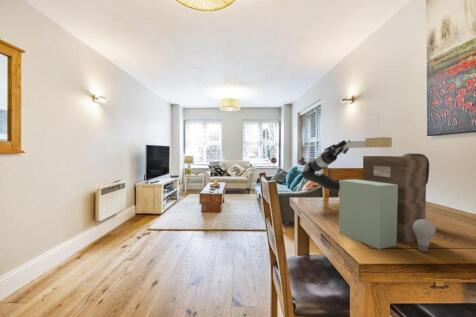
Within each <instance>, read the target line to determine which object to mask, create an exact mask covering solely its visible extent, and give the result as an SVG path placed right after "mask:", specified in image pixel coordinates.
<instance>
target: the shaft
mask: <svg viewBox="0 0 476 317" xmlns="http://www.w3.org/2000/svg"><path fill="white" fill-rule="evenodd" d="M392 139H393V138H392V137H381V136H380V137H367V138H365V140H354V141H351V140H350V141H351V142H348V141H345V142H346V144H345V145H344V146H343V147H341V148H349V149H358V148H359V149H361V148H363V149H367V148H368V149H370V148H372V149H373V148H392V146H393V145H392V143H393V142H392ZM340 142H341V141H339V142H338V143H337V144H339V143H340Z"/></svg>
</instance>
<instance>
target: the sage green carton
mask: <svg viewBox="0 0 476 317" xmlns="http://www.w3.org/2000/svg"><path fill="white" fill-rule="evenodd" d="M339 183H340V192H339V201H338V202H339V204H338V205H339V209H338V210H339V212H338V214H339V215H338V217H339V218H338V233H339V234H341V235H344V236H346V237H348V238H351V239H353V240H356V241H358V242H360V243H363V244H366V245H368V246H370V247H373V248H375V249H378V250H381V249H386V248H391V247H395V246H397V245H398V244H397V201H398V185H397V184H389V183H381V182H373V181H365V180H363V179H357V178H355V179H353V178H352V179H340V180H339Z"/></svg>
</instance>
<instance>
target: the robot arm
mask: <svg viewBox="0 0 476 317" xmlns="http://www.w3.org/2000/svg"><path fill="white" fill-rule="evenodd" d="M339 142H340V143H339V144H338V143H336V144H332V145H330V146H328V147H326V148H324V151H323V152H321V153H320V154H319V155H318V156H317V157H316V158H315V159H313V160H311V161H308V162H307V163H306V164H305V166H304V168H303V170H302V171H301V172H302V173H301V174H302V177H303V178H304V179H305V180H307V181H309V182H312V183H316V184H318V185H320V186H321V187H322V188H324V189H325V190H328V191H337V192H339V193H340V182H338V181H336V180H335V179H332V177H330V176H328V175H326V174H325V173H323V172H320V171H321V170H323V169H324V168H326V167H328V166H330V165H331V164H333V163H334V162H335V161H336V160H337V159H338V156H340V155H341V154H343V155H346V154H347V152H348V151H349V150H350V148H341V147H343V146H344V145H345V144H346V142H351V140H348V141H346V140H345V139H343V140H342V141H339ZM402 156H410V157H427V156H426V155H425V154H422V153H415V152H414V153H411V152H410V153H405V154H402ZM316 172H320V173H319V174H318V175H317V174H316ZM429 174H430V161H429V157H427V167H426V185H428V182H429ZM425 220H427V207H426V208H425Z"/></svg>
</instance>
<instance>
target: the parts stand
mask: <svg viewBox="0 0 476 317" xmlns="http://www.w3.org/2000/svg"><path fill="white" fill-rule="evenodd" d="M427 158H428V157H427V156H426V157H410V156H403V155H401V156H400V155H399V156H398V155H397V156H395V155H394V156H393V155H364V156H362V160H363V161H362V180H365V181H373V182H381V183H389V184H397V185H398V201H397V242H398V243H400V244H403V245H405V244H410V243H414V242H415V243H416V242H418V241H417V237H416V234H415V233H414V231H413V228H412V226H413V223H414V222H415V221H416V220H419V219H425V208H426V209H427V204H426V201H427V200H426V199H427V184H426V167H427Z"/></svg>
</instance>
